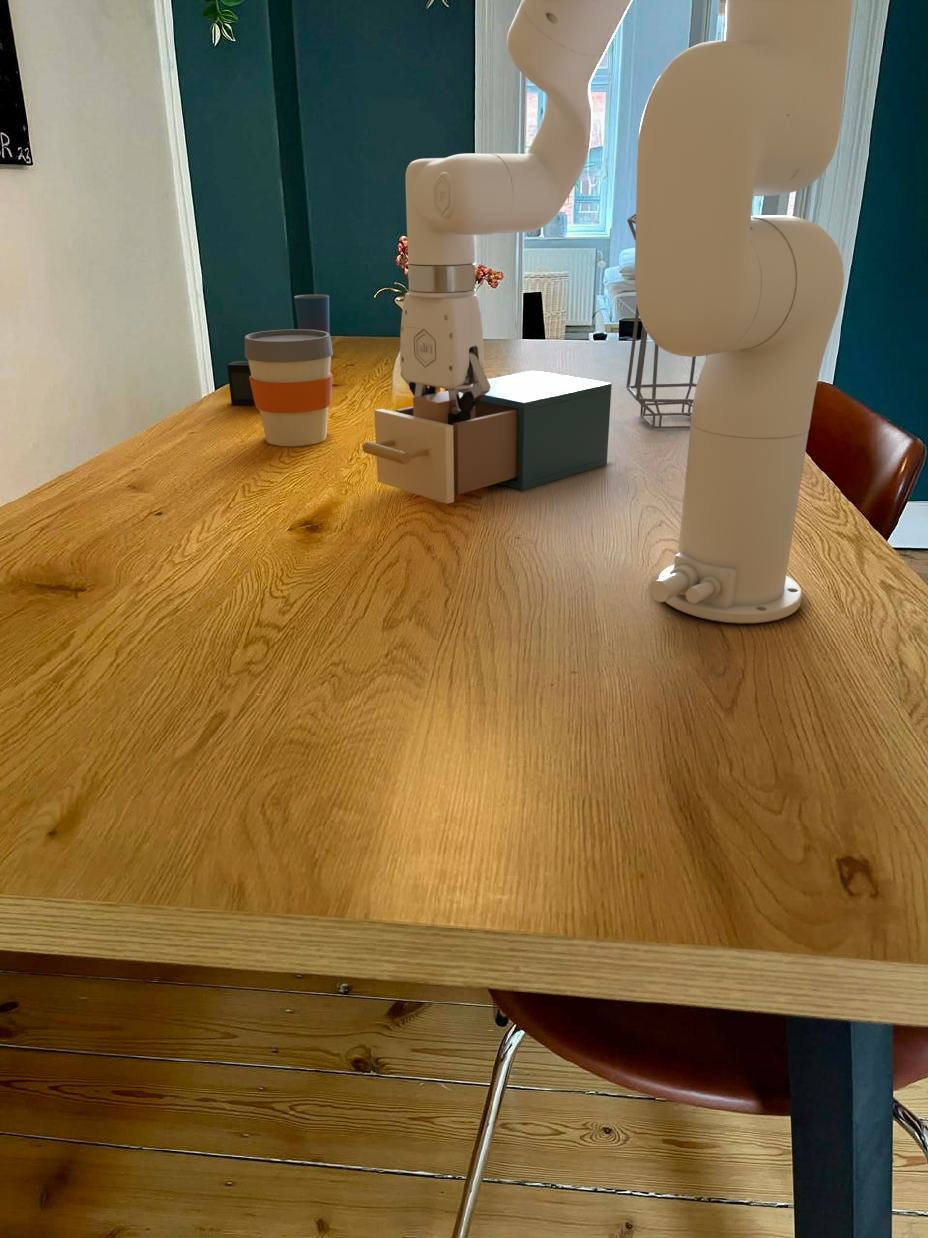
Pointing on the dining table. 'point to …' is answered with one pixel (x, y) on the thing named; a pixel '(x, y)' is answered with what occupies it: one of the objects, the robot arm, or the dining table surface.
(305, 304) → the cup
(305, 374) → the reusable coffee cup
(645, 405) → the geometric lantern
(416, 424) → the drawer
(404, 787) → the dining table surface
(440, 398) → the snack box
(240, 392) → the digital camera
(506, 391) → the cabinet
